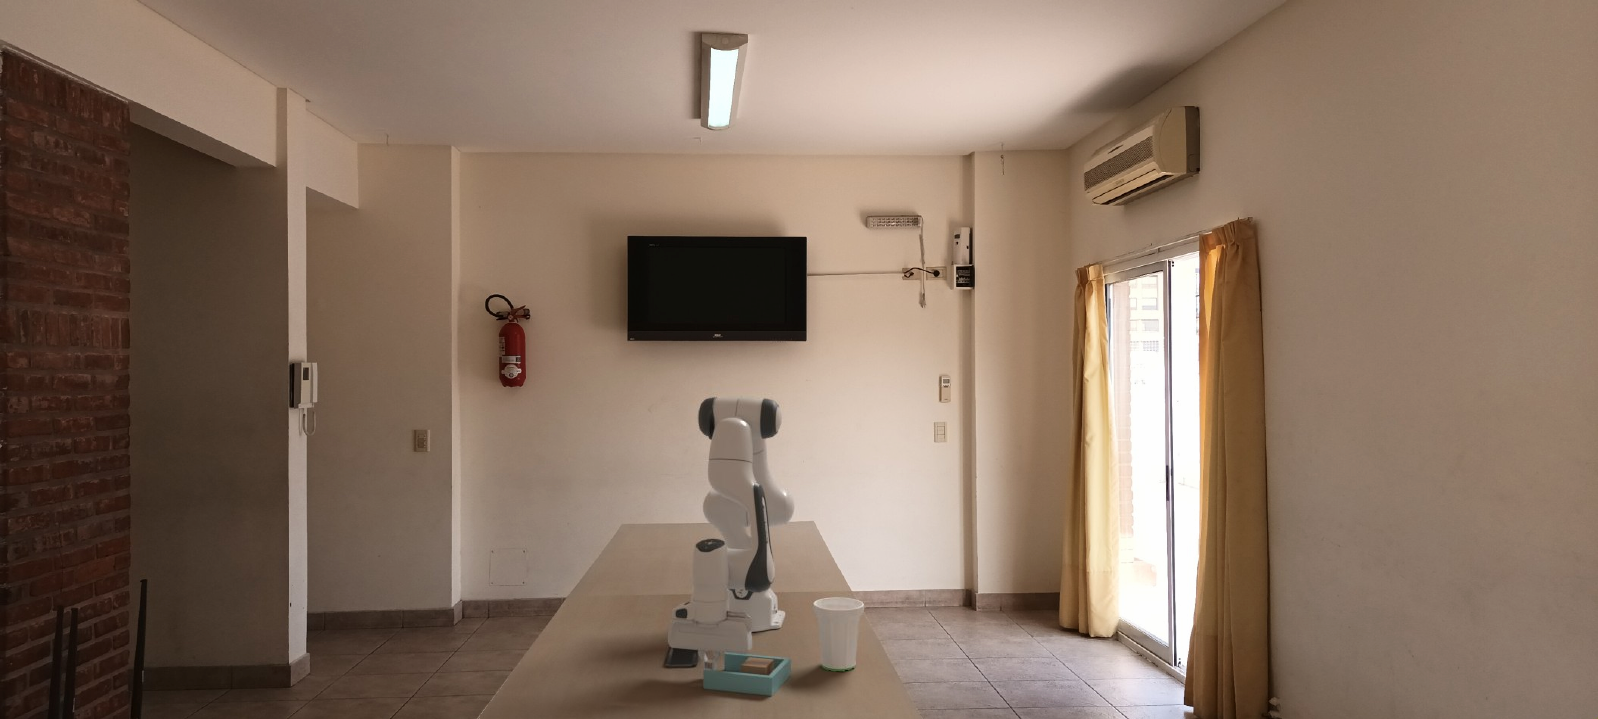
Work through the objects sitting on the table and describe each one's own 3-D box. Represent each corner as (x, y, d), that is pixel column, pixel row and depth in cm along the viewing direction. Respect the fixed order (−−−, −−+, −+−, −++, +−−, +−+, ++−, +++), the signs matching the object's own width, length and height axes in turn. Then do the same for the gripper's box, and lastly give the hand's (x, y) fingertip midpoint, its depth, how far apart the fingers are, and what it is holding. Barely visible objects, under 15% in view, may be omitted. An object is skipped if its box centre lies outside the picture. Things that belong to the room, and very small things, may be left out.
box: (726, 668, 223) (726, 652, 223) (790, 675, 218) (790, 658, 218) (703, 688, 209) (703, 670, 209) (772, 695, 204) (772, 677, 204)
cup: (802, 665, 225) (802, 603, 225) (837, 654, 234) (837, 594, 234) (839, 678, 216) (839, 612, 216) (874, 666, 225) (874, 603, 225)
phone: (664, 664, 223) (670, 645, 238) (664, 669, 223) (670, 650, 238) (697, 664, 224) (700, 645, 239) (697, 668, 224) (700, 649, 239)
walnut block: (749, 678, 216) (749, 657, 216) (773, 680, 214) (773, 659, 215) (740, 686, 210) (740, 664, 210) (765, 689, 209) (765, 667, 209)
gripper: (756, 609, 217) (756, 668, 217) (675, 603, 222) (675, 660, 222) (747, 616, 211) (747, 677, 210) (665, 610, 216) (664, 669, 216)
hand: (709, 668), depth 216 cm, fingers closed
